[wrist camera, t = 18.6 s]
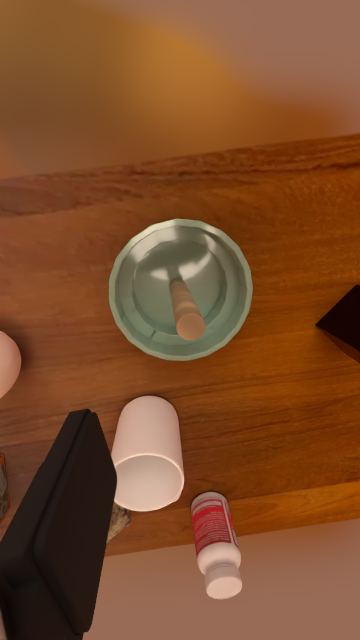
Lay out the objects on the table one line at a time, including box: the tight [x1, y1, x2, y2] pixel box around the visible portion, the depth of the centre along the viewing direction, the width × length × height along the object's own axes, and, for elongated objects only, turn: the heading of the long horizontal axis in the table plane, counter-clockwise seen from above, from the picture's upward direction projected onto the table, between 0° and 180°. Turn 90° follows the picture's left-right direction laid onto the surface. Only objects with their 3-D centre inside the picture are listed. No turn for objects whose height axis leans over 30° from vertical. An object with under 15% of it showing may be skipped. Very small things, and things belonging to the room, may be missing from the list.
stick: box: [169, 278, 205, 340], centre depth 24 cm, size 2×2×14 cm
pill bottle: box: [191, 492, 242, 599], centre depth 39 cm, size 6×6×11 cm
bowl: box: [109, 219, 253, 361], centre depth 29 cm, size 14×14×6 cm
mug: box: [111, 396, 184, 511], centre depth 33 cm, size 12×8×10 cm
